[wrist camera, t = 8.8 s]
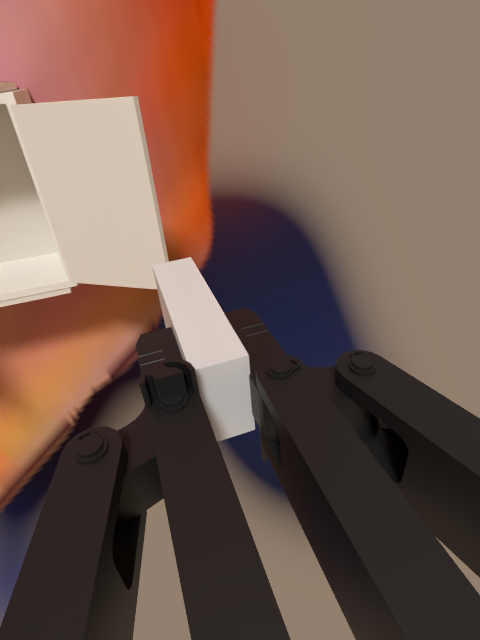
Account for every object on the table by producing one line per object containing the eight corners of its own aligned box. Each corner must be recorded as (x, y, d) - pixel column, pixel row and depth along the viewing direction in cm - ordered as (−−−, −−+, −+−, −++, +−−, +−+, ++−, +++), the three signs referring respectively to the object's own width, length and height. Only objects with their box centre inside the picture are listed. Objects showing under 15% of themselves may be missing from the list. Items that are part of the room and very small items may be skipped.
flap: (170, 290, 29) (173, 287, 30) (133, 96, 22) (137, 96, 23) (71, 282, 32) (75, 279, 32) (10, 105, 25) (16, 104, 25)
